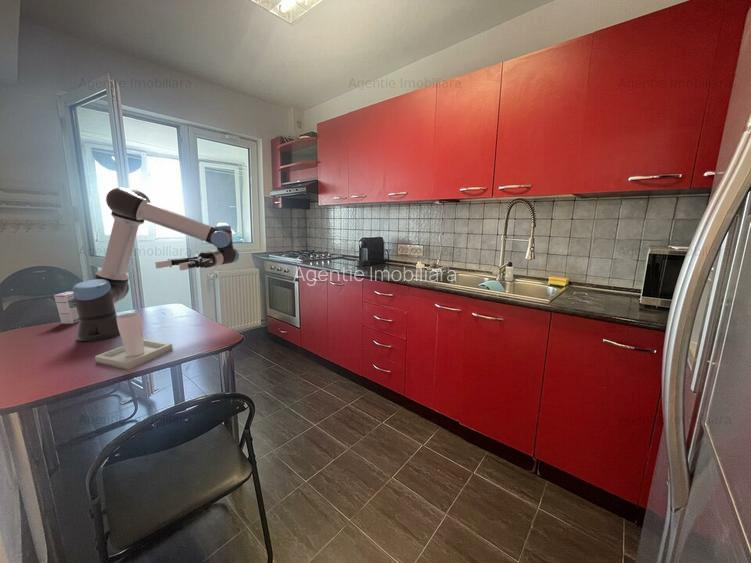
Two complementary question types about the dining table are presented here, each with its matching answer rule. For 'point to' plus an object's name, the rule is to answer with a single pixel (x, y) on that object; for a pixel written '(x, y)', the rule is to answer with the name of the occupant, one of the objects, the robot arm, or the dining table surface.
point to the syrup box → (67, 308)
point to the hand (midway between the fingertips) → (167, 266)
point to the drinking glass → (131, 333)
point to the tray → (125, 362)
